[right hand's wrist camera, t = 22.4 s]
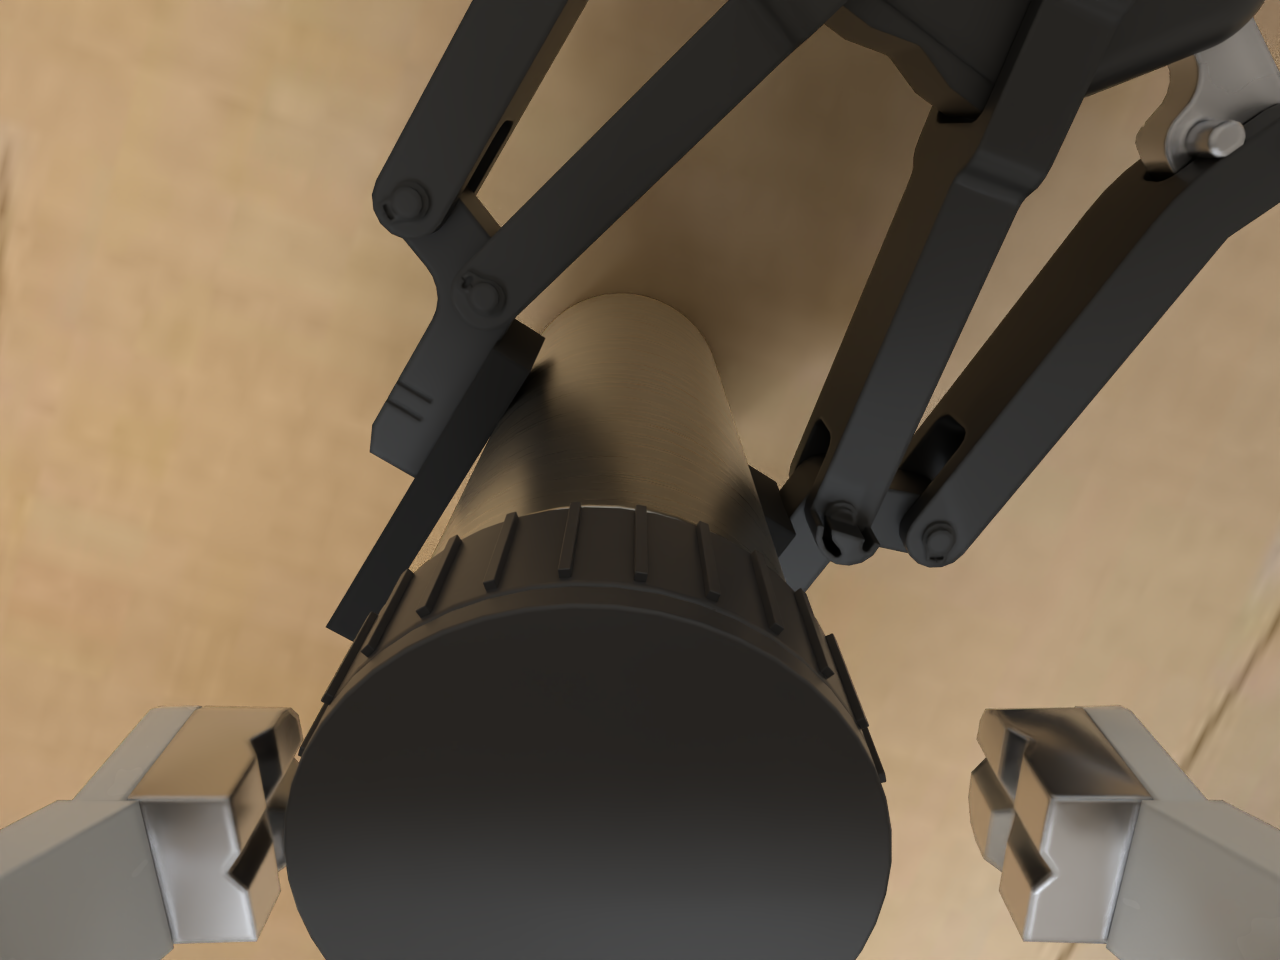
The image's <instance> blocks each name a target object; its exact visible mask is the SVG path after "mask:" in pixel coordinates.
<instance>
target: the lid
mask: <svg viewBox="0 0 1280 960" xmlns="http://www.w3.org/2000/svg"><path fill="white" fill-rule="evenodd" d="M321 702H323V703H324V705H323V706H322V708H321V710H320V712H319V714H318V716H317V717H316V719H315V721H314V723H313V725H312V726H311V728H310V730H309V732H308V734H307V736H306V737H305V739H304V741H303V743H302V745H301V746H300V750H299V753H298V756H301V759H300V762H299V764H298V767H297V769H296V772H295V774H294V777H293V780H292V782H291V787H290V792H289V796H288V801H287V806H286V811H285V826H284V852H285V859H286V866H287V874H288V880H289V883H290V887H291V890H292V893H293V897H294V900H295V903H296V906H297V910H298V912H299V914H300V916H301V918H302V920H303V922H304V924H305V926H306V928H307V930H308V932H309V934H310V936H311V938H312V940H313V941H314V943H315V944H316V946H317V947H318V949H319V950H320V952H321V953H322V955H323V956H324V958H325V959H326V960H856V958H857V957H858V955H859V954H860V953H861V951H862V949H863V948H864V946H865V944H866V942H867V940H868V938H869V936H870V934H871V932H872V930H873V928H874V927H875V925H876V922H877V919H878V916H879V913H880V910H881V907H882V904H883V902H884V899H885V896H886V891H887V886H888V880H889V874H890V868H891V862H892V830H891V824H890V818H889V812H888V806H887V800H886V796H885V793H884V790H883V788H882V785H881V783H883V782H886V776H885V772H884V769H883V767H882V764H881V762H880V759H879V756H878V754H877V751H876V748H875V746H874V743H873V741H872V738H871V735H870V733H869V730H868V726H869V724H868V721H867V719H866V716H865V714H864V711H863V708H862V706H861V703H860V701H859V698H858V695H857V693H856V690H855V688H854V685H853V682H852V680H851V677H850V675H849V672H848V669H847V667H846V664H845V662H844V659H843V656H842V654H841V651H840V649H839V646H838V643H837V641H836V639H835V637H834V635H833V634H830V635H827V636H825V634H824V633H823V631H822V629H821V627H820V625H819V623H818V621H817V620H816V618H815V617H814V614H813V611H812V609H811V606H810V603H809V600H808V597H807V595H806V593H805V592H804V591H803V590H802V589H801V588H799V589H798V590H797V591H794V590H793V589H792V588H791V587H790V586H789V585H788V584H787V583H786V582H785V581H784V580H783V579H782V578H781V577H780V576H779V575H778V574H777V573H776V572H774V571H773V570H772V569H771V568H769V567H768V566H767V565H766V563H765V559H764V556H763V554H762V553H760V552H759V551H758V550H756V549H755V550H754V551H753V552H752V553H749V552H748V551H746V550H744V549H743V548H741V547H739V546H737V545H736V544H734V543H732V542H730V541H729V540H727V539H725V538H723V537H722V536H719V535H717V534H715V533H712V532H710V529H709V524H707V523H704V522H702V521H699V522H698V524H697V526H696V525H693V524H691V523H688V522H684V521H681V520H677V519H673V518H670V517H666V516H663V515H659V514H656V513H649V512H647V507H646V506H643V505H636V508H635V510H629V509H623V508H601V507H581V502H571V503H570V507H569V509H558V510H548V511H543V512H539V513H534V514H529V515H525V516H520V517H518V515H517V512H512V513H508V514H506V517H505V520H504V522H501V523H498V524H495V525H492V526H490V527H487V528H484V529H481V530H479V531H477V532H475V533H473V534H471V535H469V536H467V537H465V538H464V539H462V540H461V539H460V537H459V536H458V535H455V536H453V537H451V538H449V540H448V542H447V544H446V546H445V548H444V550H443V551H441V552H440V553H439V554H437V555H436V556H434V557H433V558H431V559H430V560H428V561H427V562H425V563H424V564H423V565H422V566H421V567H420V568H419V569H418V570H417V571H415V572H414V573H413V572H412V571H410V570H409V569H407V570H406V571H404V572H403V573H402V574H401V576H400V578H399V580H398V582H397V584H396V585H395V587H394V589H393V591H392V593H391V595H390V597H389V599H388V600H387V602H386V604H385V605H384V606H383V608H382V609H381V611H380V613H379V614H378V615H377V614H376V613H374V612H372V611H371V612H370V614H369V615H368V617H367V618H366V620H365V622H364V624H363V626H362V627H361V629H360V631H359V633H358V635H357V636H356V638H355V640H354V642H353V643H352V645H351V647H350V649H349V651H348V652H347V654H346V656H345V658H344V660H343V661H342V663H341V665H340V667H339V669H338V670H337V672H336V674H335V676H334V677H333V679H332V681H331V683H330V685H329V686H328V688H327V690H326V692H325V694H324V695H323V697H322V699H321Z"/></svg>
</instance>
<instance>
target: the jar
mask: <svg viewBox="0 0 1280 960" xmlns="http://www.w3.org/2000/svg"><path fill="white" fill-rule="evenodd" d="M541 335H542V336H543V337H545V338H546V339H545V341H544V343H543V345H542V347H541V350H540V352H539V354H538V356H537V358H536V361H535V363H534V365H533V367H532V369H531V372H530V373H529V375H528V376H527V378H526V380H525V381H524V383H523V384H522V386H521V388H520V389H519V391H518V392H517V394H516V396H515V397H514V399H513V401H512V402H511V404H510V405H509V407H508V409H507V410H506V412H505V413H504V415H503V417H502V418H501V420H500V421H499V423H498V424H497V426H496V428H495V429H494V431H493V433H492V434H491V436H490V438H489V440H488V442H487V444H486V446H485V448H484V451H483V453H482V455H481V457H480V459H479V461H478V463H477V465H476V467H475V469H474V471H473V473H472V475H471V477H470V479H469V481H468V483H467V485H466V488H465V490H464V492H463V494H462V496H461V498H460V500H459V502H458V504H457V506H456V508H455V510H454V512H453V514H452V516H451V518H450V520H449V522H448V524H447V527H446V529H445V531H444V533H443V535H442V537H441V539H440V541H439V543H438V545H437V547H436V549H435V551H434V553H433V555H432V557H431V558H433V557H434V556H436V555H437V554H439V553H440V552H441V551H443V550H444V548H445V546H446V544H447V542H448V540H449V538H451V537H453V536H455V535H458V536H459V537H460V539H461V540H462V539H464V538H465V537H467V536H469V535H471V534H473V533H475V532H477V531H479V530H481V529H484V528H487V527H490V526H492V525H495V524H498V523H501V522H504V520H505V517H506V514H508V513H512V512H517V515H518V517H520V516H525V515H529V514H534V513H539V512H543V511H548V510H558V509H569V507H570V503H571V502H581V507H601V508H623V509H629V510H635V508H636V505H643V506H646V507H647V512H649V513H656V514H659V515H663V516H666V517H670V518H673V519H677V520H681V521H684V522H688V523H691V524H693V525H696V526H697V524H698V522H699V521H702V522H704V523H707V524H709V529H710V532H712V533H715V534H717V535H719V536H722V537H723V538H725V539H727V540H729V541H730V542H732V543H734V544H736V545H737V546H739V547H741V548H743V549H744V550H746V551H748V552H749V553H752V552H753V551H754V550H755V549H756V550H758V551H759V552H760V553H762V554H763V556H764V559H765V563H766V565H767V566H768V567H769V568H771V569H772V570H773V571H774V572H776V573H777V574H778V575H779V576H780V577H781V578H782V579H783V580H784V581H785V578H784V575H783V572H782V569H781V566H780V562H779V559H778V556H777V553H776V550H775V547H774V544H773V541H772V538H771V535H770V531H769V528H768V525H767V522H766V519H765V516H764V513H763V510H762V507H761V503H760V500H759V497H758V494H757V491H756V488H755V485H754V482H753V479H752V476H751V472H750V469H749V466H748V463H747V460H746V457H745V454H744V451H743V448H742V445H741V441H740V438H739V435H738V432H737V429H736V426H735V423H734V420H733V417H732V414H731V410H730V407H729V404H728V401H727V398H726V395H725V392H724V389H723V386H722V383H721V379H720V376H719V373H718V370H717V367H716V364H715V361H714V358H713V355H712V353H711V350H710V348H709V346H708V344H707V342H706V341H705V339H704V337H703V336H702V335H701V333H700V332H699V330H698V329H697V328H696V327H695V326H694V325H693V324H692V323H691V321H690V320H689V319H687V318H686V317H685V316H684V315H682V314H681V313H680V312H679V311H677V310H676V309H674V308H672V307H671V306H669V305H667V304H665V303H663V302H661V301H659V300H656V299H653V298H650V297H646V296H643V295H637V294H630V293H614V294H604V295H600V296H596V297H592V298H589V299H587V300H584V301H581V302H579V303H577V304H575V305H574V306H572V307H570V308H568V309H567V310H565V311H564V312H563V313H561V314H560V315H559V316H557V317H556V318H555V319H554V320H553V321H552V322H551V323H550V324H549V325H548V326H547V328H546V329H545V330H544V332H543V333H542V334H541ZM785 582H786V581H785Z"/></svg>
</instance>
